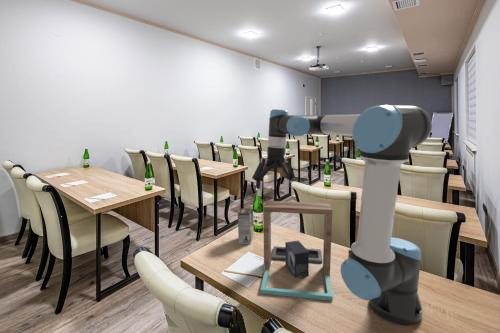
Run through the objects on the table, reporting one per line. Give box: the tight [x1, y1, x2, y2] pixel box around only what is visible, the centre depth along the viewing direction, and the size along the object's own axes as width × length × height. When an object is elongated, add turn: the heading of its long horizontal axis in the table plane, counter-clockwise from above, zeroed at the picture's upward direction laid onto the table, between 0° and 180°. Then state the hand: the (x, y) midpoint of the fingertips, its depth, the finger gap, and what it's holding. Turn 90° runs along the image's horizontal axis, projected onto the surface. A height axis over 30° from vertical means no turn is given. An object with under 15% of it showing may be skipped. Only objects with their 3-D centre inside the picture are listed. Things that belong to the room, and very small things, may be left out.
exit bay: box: [259, 270, 334, 302], centre depth 100 cm, size 13×25×2 cm, turn 79°
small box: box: [285, 240, 310, 279], centre depth 110 cm, size 11×6×10 cm, turn 14°
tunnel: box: [262, 200, 333, 279], centre depth 108 cm, size 8×26×28 cm, turn 79°
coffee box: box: [237, 207, 255, 245], centre depth 137 cm, size 9×6×16 cm
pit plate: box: [271, 246, 323, 264], centre depth 122 cm, size 10×22×1 cm, turn 79°
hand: (272, 194), depth 118 cm, fingers open, 13 cm apart
